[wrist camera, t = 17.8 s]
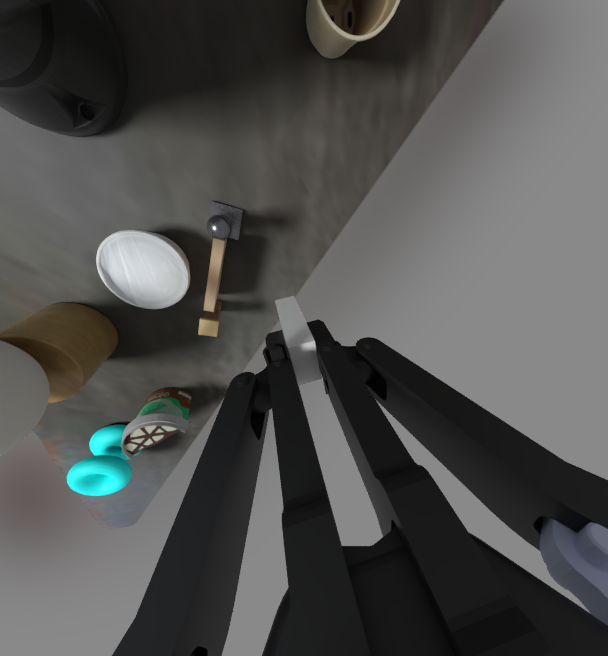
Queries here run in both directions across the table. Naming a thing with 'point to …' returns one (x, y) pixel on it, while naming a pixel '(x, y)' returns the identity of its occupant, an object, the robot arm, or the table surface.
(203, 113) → the table surface
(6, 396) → the lamp
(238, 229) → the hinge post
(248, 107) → the table surface
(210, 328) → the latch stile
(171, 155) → the table surface
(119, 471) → the donuts
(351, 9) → the flower pot
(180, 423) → the food container
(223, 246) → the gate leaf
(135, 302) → the ramekin
